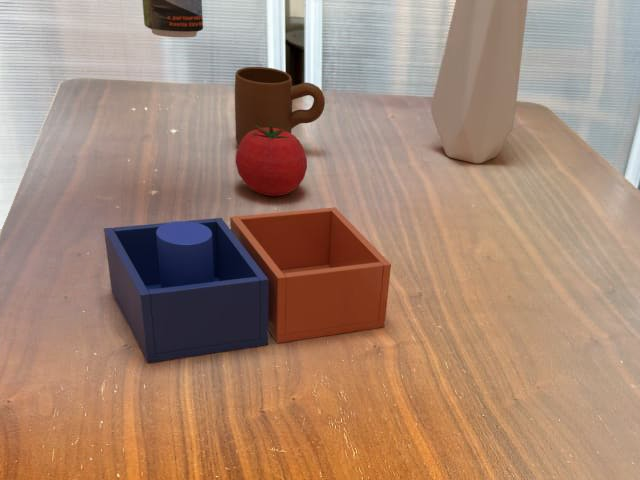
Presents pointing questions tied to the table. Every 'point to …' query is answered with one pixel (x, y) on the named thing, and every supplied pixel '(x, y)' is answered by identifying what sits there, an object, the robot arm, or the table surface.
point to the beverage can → (173, 17)
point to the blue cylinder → (184, 254)
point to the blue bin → (187, 296)
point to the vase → (479, 78)
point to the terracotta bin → (316, 272)
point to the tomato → (271, 161)
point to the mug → (271, 101)
